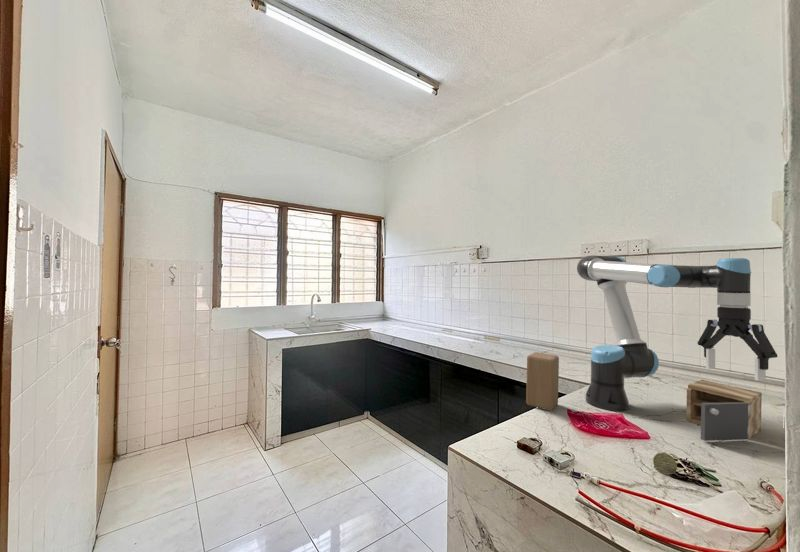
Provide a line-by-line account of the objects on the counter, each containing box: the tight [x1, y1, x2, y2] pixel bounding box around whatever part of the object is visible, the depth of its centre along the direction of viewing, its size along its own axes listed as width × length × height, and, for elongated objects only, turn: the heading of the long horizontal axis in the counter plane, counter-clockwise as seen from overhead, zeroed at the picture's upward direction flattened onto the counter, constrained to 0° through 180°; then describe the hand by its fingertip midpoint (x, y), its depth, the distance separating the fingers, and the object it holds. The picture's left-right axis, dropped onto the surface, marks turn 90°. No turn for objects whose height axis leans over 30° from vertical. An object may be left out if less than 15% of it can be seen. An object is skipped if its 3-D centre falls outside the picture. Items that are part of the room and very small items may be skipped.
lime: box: [652, 452, 678, 476], centre depth 88 cm, size 4×5×5 cm
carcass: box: [685, 379, 763, 440], centre depth 118 cm, size 14×16×13 cm
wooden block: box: [525, 351, 560, 411], centre depth 134 cm, size 10×10×20 cm
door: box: [700, 402, 750, 442], centre depth 105 cm, size 3×16×12 cm, turn 96°
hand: (733, 373), depth 105 cm, fingers open, 13 cm apart
